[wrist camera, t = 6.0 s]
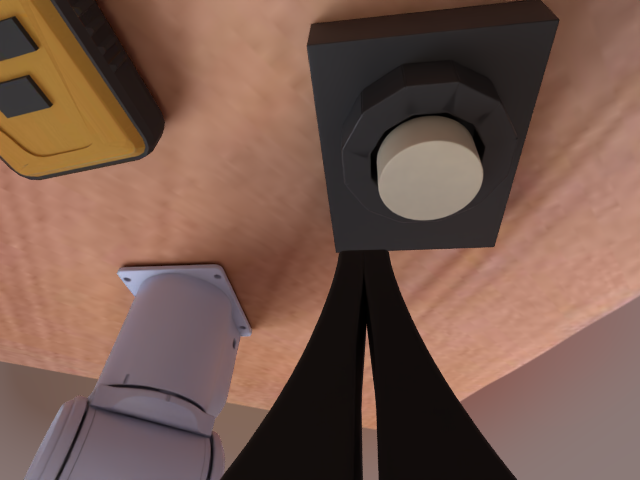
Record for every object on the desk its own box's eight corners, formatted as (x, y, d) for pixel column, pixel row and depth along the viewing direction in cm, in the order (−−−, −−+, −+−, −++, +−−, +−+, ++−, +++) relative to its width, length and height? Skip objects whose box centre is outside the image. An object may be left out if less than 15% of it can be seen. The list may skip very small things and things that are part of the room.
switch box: (485, 220, 24) (502, 272, 22) (336, 226, 26) (334, 277, 23) (540, -2, 16) (579, 39, 13) (310, 23, 17) (302, 66, 14)
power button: (467, 191, 18) (474, 218, 17) (377, 196, 19) (379, 222, 18) (482, 110, 15) (492, 136, 14) (375, 119, 16) (377, 144, 15)
